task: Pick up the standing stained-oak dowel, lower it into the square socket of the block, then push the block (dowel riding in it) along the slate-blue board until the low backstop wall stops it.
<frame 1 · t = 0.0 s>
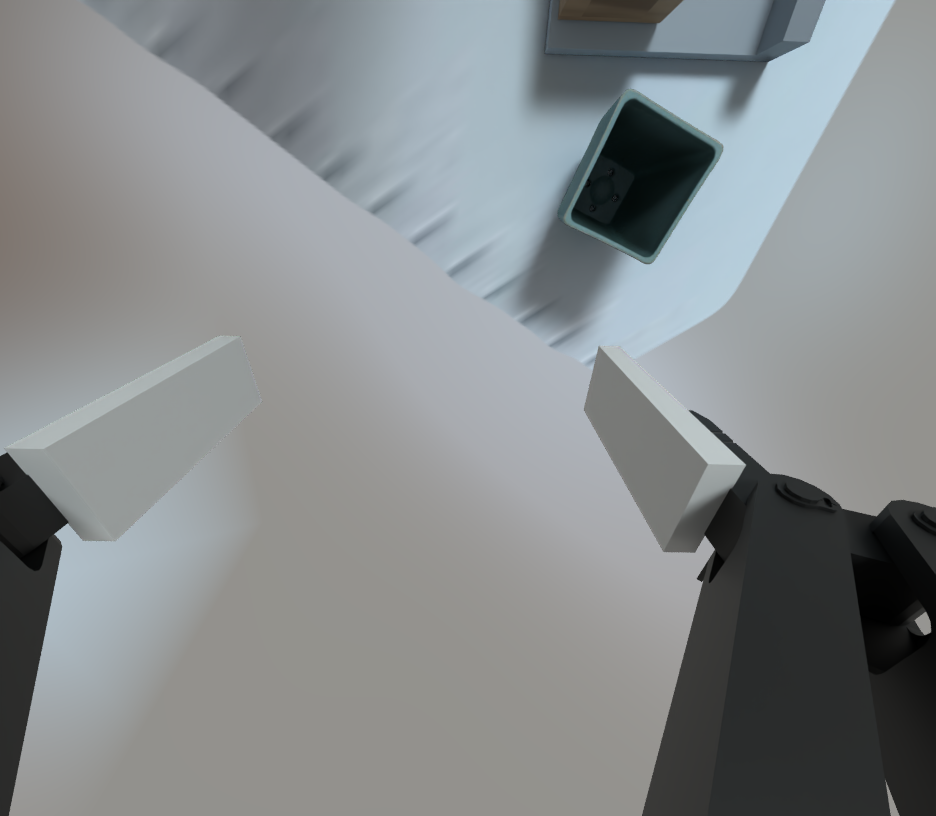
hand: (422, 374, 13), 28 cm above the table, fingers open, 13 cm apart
flower pot: (600, 190, 34), on the table
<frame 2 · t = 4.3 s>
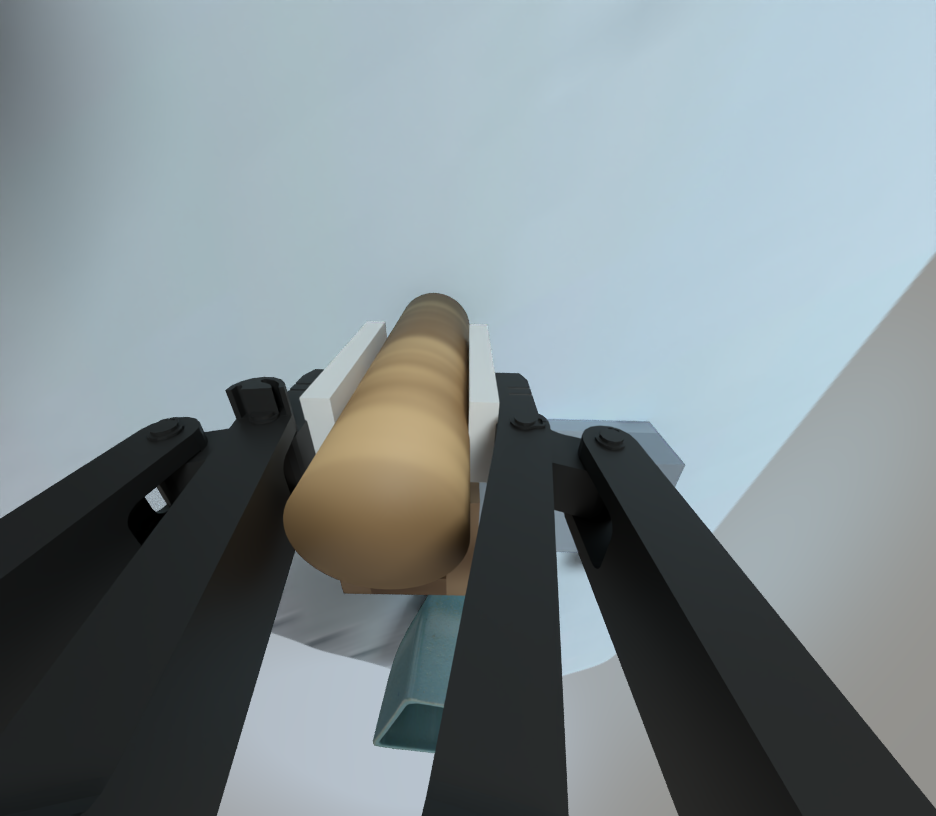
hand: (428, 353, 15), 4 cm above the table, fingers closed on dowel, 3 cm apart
dowel: (435, 328, 18), on the table, touching gripper
board: (489, 484, 23), on the table
flower pot: (453, 601, 31), on the table
block: (409, 523, 20), point 3 cm above the table, slide at 0.0 cm
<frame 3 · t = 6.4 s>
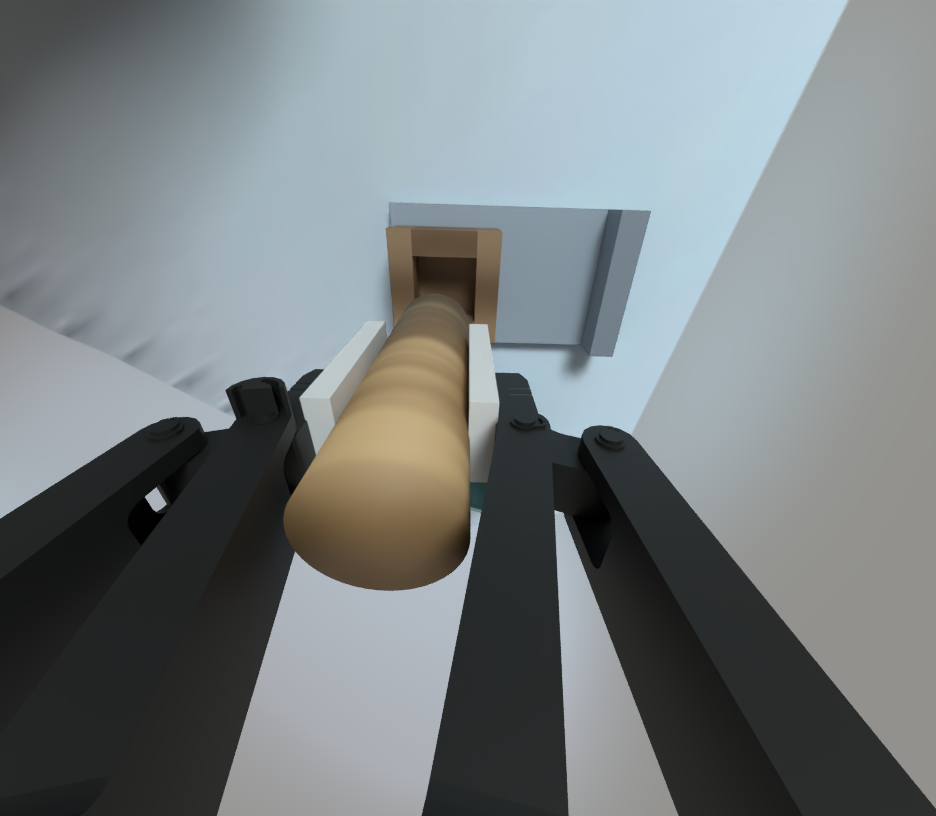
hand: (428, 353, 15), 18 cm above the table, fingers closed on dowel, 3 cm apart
dowel: (435, 328, 18), point 14 cm above the table, touching gripper
board: (504, 278, 30), on the table
flower pot: (471, 418, 38), on the table
block: (446, 285, 27), point 4 cm above the table, slide at 0.0 cm
when the fingers open (7 cm above the table, at t = 8.5 s): dowel stays where it is, resting on block.
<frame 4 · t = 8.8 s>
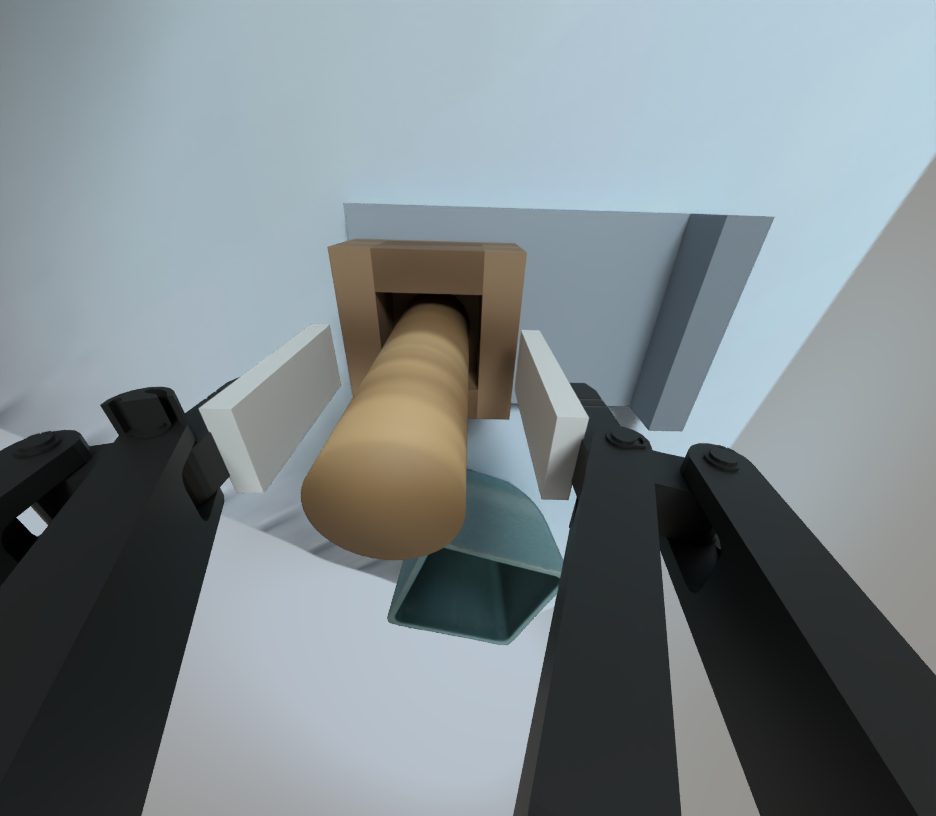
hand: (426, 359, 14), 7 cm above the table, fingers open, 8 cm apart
dowel: (436, 323, 18), point 2 cm above the table, touching block
board: (522, 314, 20), on the table
flower pot: (472, 491, 28), on the table
block: (434, 331, 17), point 3 cm above the table, slide at 0.0 cm, touching dowel
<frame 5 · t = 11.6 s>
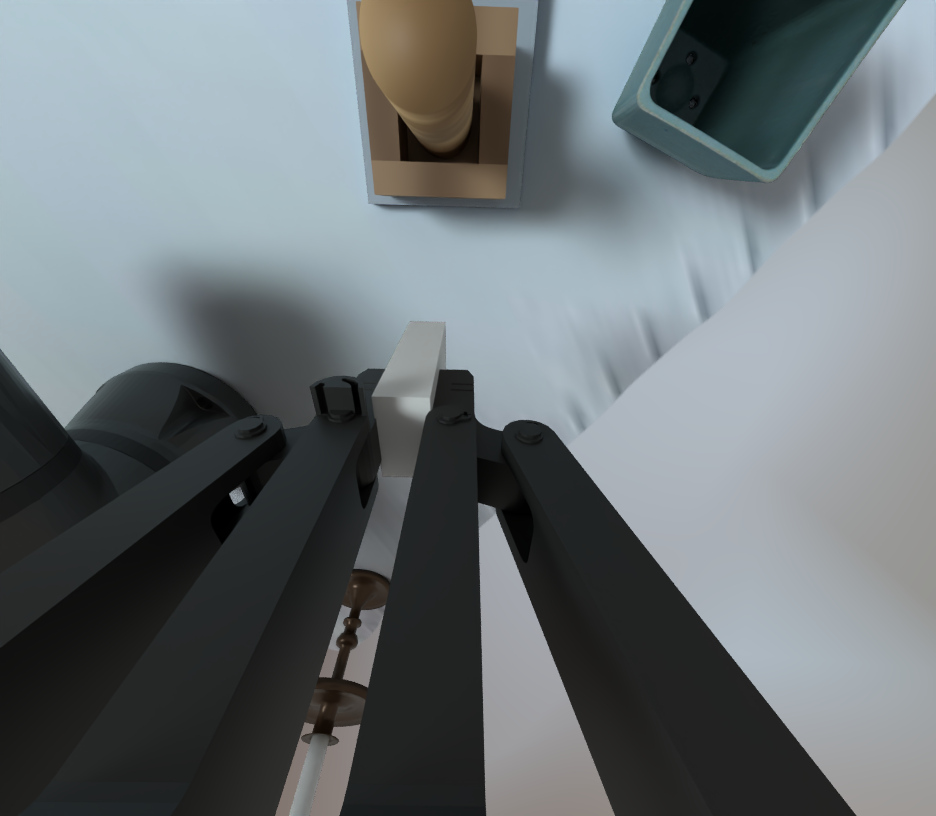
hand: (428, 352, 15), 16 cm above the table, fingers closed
dowel: (443, 124, 22), point 2 cm above the table, touching block
board: (444, 26, 21), on the table
candlestick: (362, 586, 51), on the table
flower pot: (670, 90, 22), on the table
block: (441, 119, 20), point 3 cm above the table, slide at 0.0 cm, touching dowel
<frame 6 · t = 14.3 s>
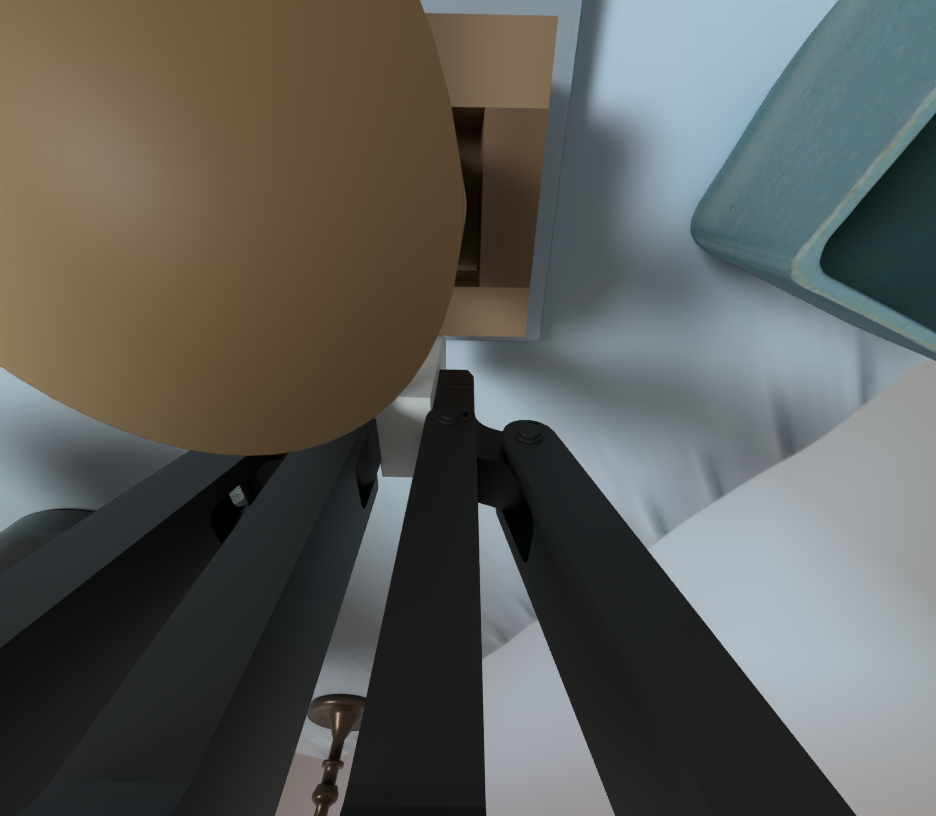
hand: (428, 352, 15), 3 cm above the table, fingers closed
dowel: (420, 206, 13), point 2 cm above the table, touching block
board: (419, 90, 13), on the table
candlestick: (346, 706, 44), on the table
flower pot: (772, 176, 15), on the table
block: (414, 206, 12), point 4 cm above the table, slide at 1.2 cm, touching dowel, gripper
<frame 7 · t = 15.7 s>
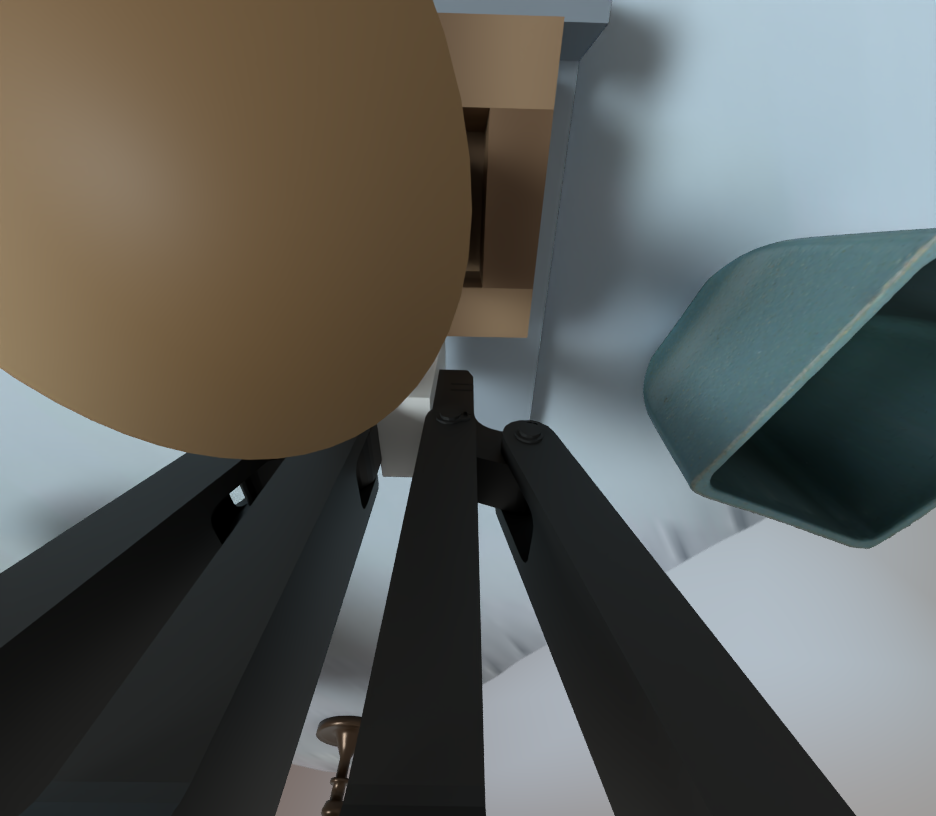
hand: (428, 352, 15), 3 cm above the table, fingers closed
dowel: (423, 206, 13), point 2 cm above the table, touching block
board: (430, 280, 16), on the table
candlestick: (352, 726, 47), on the table
flower pot: (712, 334, 18), on the table
block: (417, 206, 12), point 3 cm above the table, slide at 8.1 cm, touching dowel, gripper
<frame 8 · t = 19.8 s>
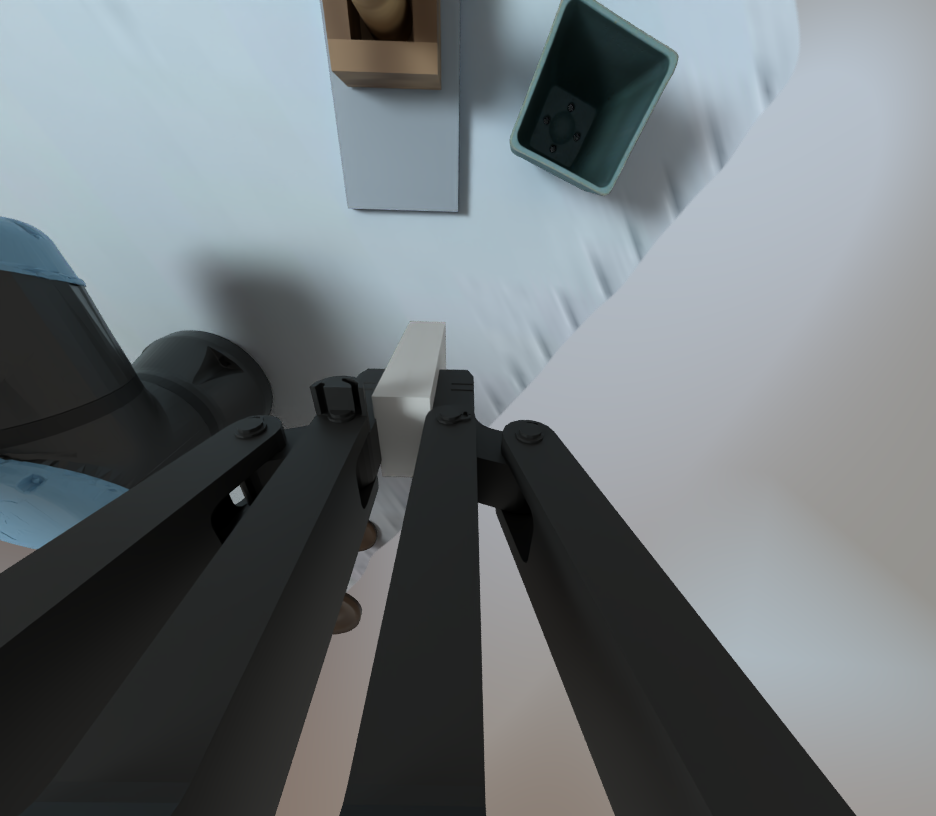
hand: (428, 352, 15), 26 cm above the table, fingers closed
dowel: (389, 17, 26), point 2 cm above the table, touching block
board: (397, 85, 30), on the table
candlestick: (352, 530, 61), on the table
flower pot: (560, 128, 32), on the table
block: (385, 8, 25), point 3 cm above the table, slide at 8.5 cm, touching dowel
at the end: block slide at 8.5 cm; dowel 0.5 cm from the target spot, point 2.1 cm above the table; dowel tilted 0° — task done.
